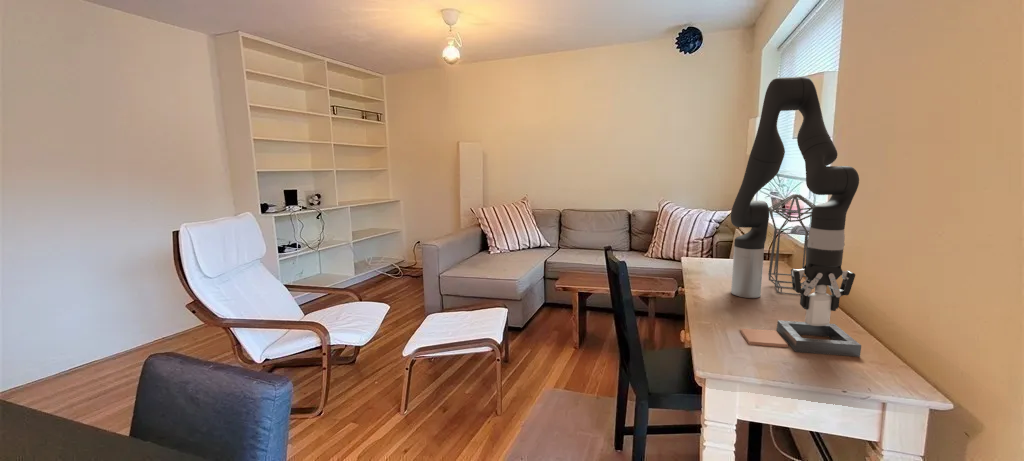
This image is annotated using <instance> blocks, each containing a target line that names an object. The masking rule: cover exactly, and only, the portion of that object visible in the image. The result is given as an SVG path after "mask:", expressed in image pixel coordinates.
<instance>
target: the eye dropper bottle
mask: <svg viewBox="0 0 1024 461" xmlns="http://www.w3.org/2000/svg"><path fill="white" fill-rule="evenodd" d="M827 287H828V285H823V284H822V285H816V286H815V287H814V292H812V293H809V296H810V297H809V307H808V309H805V317H804V322H805V323H807V324H809V325H812V326H825V325H828V324H830V323H831V322H830V320H831V314H832V313H831V311H832V310H831V304H832V297H831V296H830V295H831V294H829V293H827V289H828V288H827Z"/></svg>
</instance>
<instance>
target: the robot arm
mask: <svg viewBox="0 0 1024 461" xmlns="http://www.w3.org/2000/svg"><path fill="white" fill-rule="evenodd" d="M788 111H798V112H799V113H800V114H801V115H802V118H803V120H802V122H801V125H800V127H799V130H798V131H797V132H798V133H797V135H796V136H797V138H796V142H797V147H798V149H799V151H800V154H801V156H802V158H803V160H804V164H805V166H804V167H805V185H806V187H807V189H808V190H809V191H810V192H811V193H812V194H814V195H818V196H830V197H829V199H828V201H827V202H824V203H820V204H816V206H814V207H813V209H812V210H811V212H812V213H811V214H812V216H810V228H809V230H810V231H809V232H808V233H809V235H808V244H807V254H806V253H805V264H804V268H803V269H802V268H799V269H796V268H791V269H790V274H791V282H792V283H791V284H792V285H791V287H793V289H792V290H793V291H794V292H796V294H801V295H800V298H799V305H800V306H801V308H802V309H803V310H806V309H808V307H809V297H810V296H809V295H810V294H811V292H812V290H815V286H816V285H822V284H823V285H827V287H828V289H829V291H830V294H829V295H830V296H831V297H832V304H831V311H832V312H836V311H837V310H838V309H839V307H840V298H841V297H843V296H849V295H850V292H851V290H852V286H853V284H854V280H855V278H856V273H854V272H852V271H851V270H843V269H842V265H843V264H842V263H843V257H844V250H845V236H846V234H845V226H846V220H847V219H846V218H847V214H848V210H849V208H850V206H851V204H852V201H853V199H854V197H855V195H856V193H857V191H858V188H859V184H860V177H859V176H860V175H859V174H858V171H857V170H856V169H855V168H854V167H853V166H849V165H834V166H833V165H832V164H833V163H834V162H835V161H836V160H837V158H838V151H837V148H836V146H835V145H834V142H833V141H832V138H831V136H830V134H829V132H828V130H827V128H826V124H825V122H824V117H823V114H822V109H821V104H820V101H819V97H818V92H817V88H816V86H815V84H814V82H813V80H812V79H811V78H810V77H809V76H808V77H807V76H784V77H783V76H782V77H775V78H774V79H772V80H771V81H770V82H769V83H768V87H767V88H766V91H765V94H764V99H763V104H762V109H761V113H760V118H759V122H758V123H759V124H758V128H757V131H756V135H755V138H754V142H753V145H752V148H751V150H750V154H749V157H748V160H747V164H746V169H745V172H744V176H743V179H742V182H741V185H740V187H739V189H738V192H737V194H736V197H735V199H734V202H733V204H732V208H731V211H730V222H731V224H732V225H733V226H734V227H736V228H746V229H747V228H750V230H749V231H748V232H746V233H744V234H742V235H738V236H736V237H735V238H734V241H733V242H734V243H733V244H734V245H733V260H732V273H731V274H732V275H731V288H730V292H731V294H732V295H734V296H737V297H740V298H746V299H755V298H759V297H761V293H762V292H761V291H762V279H763V270H764V256H765V255H764V254H765V245H766V241H767V234H768V226H769V222H770V221H769V220H770V212H769V205H768V203H767V201H764V200H753V199H754V197H755V196H756V195H757V194H758V192H759V191H760V190H761V189H762V188H764V187H765V186H766V185H767V184H768V183H770V182H771V181H772V180H773V179H774V178H775V177H776V175H777V174H778V173H779V171H780V168H781V166H782V163H783V160H784V158H785V153H786V151H785V149H786V148H785V146H784V142H783V140H782V138H781V136H780V133H779V131H778V118H779V116H780V112H788ZM829 165H832V166H829ZM803 273H804V274H803ZM802 275H805V276H807V278H806V277H805V280H804V281H805V282H804V281H803V282H804V285H803V286H801V283H802V282H801V281H800V279H801V277H802ZM840 277H841V279H842V281H841V283H840V286H839V285H838V282H837V280H838V279H839V278H840ZM802 278H803V277H802Z"/></svg>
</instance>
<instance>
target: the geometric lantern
mask: <svg viewBox="0 0 1024 461" xmlns="http://www.w3.org/2000/svg"><path fill="white" fill-rule="evenodd" d="M799 200H800V201H802V202H803V203H804V204H806V205H807V206H808V207H804V208H801V206H800V202H799ZM790 201H791V203H790V207H789V208H783V207H784V206H785V205H786V204H788V203H789V202H790ZM794 203H795V204H796V209H793V206H794ZM816 205H817V204H816ZM816 205H815V203H813V202H811V201H810V200H808V199H807V198H805V197H804V196H803V195H801V194H798V193H797V194H796V193H795V194H794V193H793V194H791V195H789V196H787V197H786V198H784V199H782V200H780V201H778V202H776V203H774V204H773V205H771V206H770V207H769V206H768V207H769V217H770V219H771V220H772V224H773V228H774V230H773V239H772V244H771V246H772V247H771V253H770V260H769V268H768V281H770V282H771V283H772V284H774V288H775V290H776V292H777V293H778V294H786V295H787V294H788V295H796V296H801V294H800V293H795V292H794V293H792V292H783V289H792V290H793V286H784V285H783V286H782V285H781V283H783V284H792V281H789V280H788V281H787V280H778V276H788V277H789V276H791V273H779V261H780V260H779V256H780V243H781V242H780V238H781V234H783V235H799V236H800V235H803V236H804V242H803V243H804V245H803V254H802V256H803V257H802V268H801V269H803V268H804V267H805V264H806V254H807V244H808V235H809V231H810V229H807V228H806V226H805V224H804V222H803V220H805V219H808V218H811V217H812V209H813V207H814V206H816ZM804 210H805V211H804ZM801 211H804V212H801ZM773 212H774V213H776V214H778V215H779V216H780V217H782V218H783V219H785V220H784V221H783V224H782V225H781V226H780V227H779V228H777V226H776V223H775V219H774V216H773V215H774V213H773ZM792 214H797V216H795V215H794V216H793V215H792ZM804 215H806V216H804ZM802 216H804V217H802ZM788 222H789V223H792V222H793V223H794V222H798V223H799V224H800V225H801V226H802V228H803V229H797V228H796V229H794V228H793V229H792V228H791V229H790V228H784V227H785V226H786V225H788ZM781 231H796V233H795V232H781ZM797 231H799V232H800V231H801V232H802V231H804V233H797ZM776 241H777V244H776ZM775 248H776V252H775ZM774 256H775V258H774ZM774 259H775V260H774ZM773 263H774V269H773ZM772 271H773V272H772ZM773 275H774V277H773ZM803 277H804V278H805V279H806V278H807V276H806V275H805V273H803V275H802V277H801V278H800V282H801V281H802V279H803ZM774 278H775V279H774ZM804 282H805V280H803V282H801V287H802V286H803V285H804Z"/></svg>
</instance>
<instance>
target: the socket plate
mask: <svg viewBox="0 0 1024 461" xmlns="http://www.w3.org/2000/svg"><path fill="white" fill-rule="evenodd" d="M776 331H777V333H778V334H779V335H780V336H781V337H782V338H783V340H784V341H785V342H786V343H787V344H788V345H789V346H790V347H791V348H792V350H793V351H794V352H795V353H803V354H804V353H805V354H806V353H807V354H817V355H818V354H819V355H830V356H831V355H832V356H843V357H844V356H845V357H856V358H860V357H861V352H862V345H861V343H859V342H858V341H857V340H855V338H854V337H852V336H850V335H849V334H848V333H846V332H845V331H844V330H843V329H842V328H840V327H839V326H838V325H837V324H835V323H829V324H828V325H825V326H812V325H809V324H807V323H805V321H796V320H794V321H793V320H781V319H780V320H777V324H776ZM801 335H802V336H803V335H804V336H815V337H816V336H817V337H828V338H830V339H823V338H821V339H819V338H809V337H808V338H807V337H806V338H805V337H802V336H801Z"/></svg>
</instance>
